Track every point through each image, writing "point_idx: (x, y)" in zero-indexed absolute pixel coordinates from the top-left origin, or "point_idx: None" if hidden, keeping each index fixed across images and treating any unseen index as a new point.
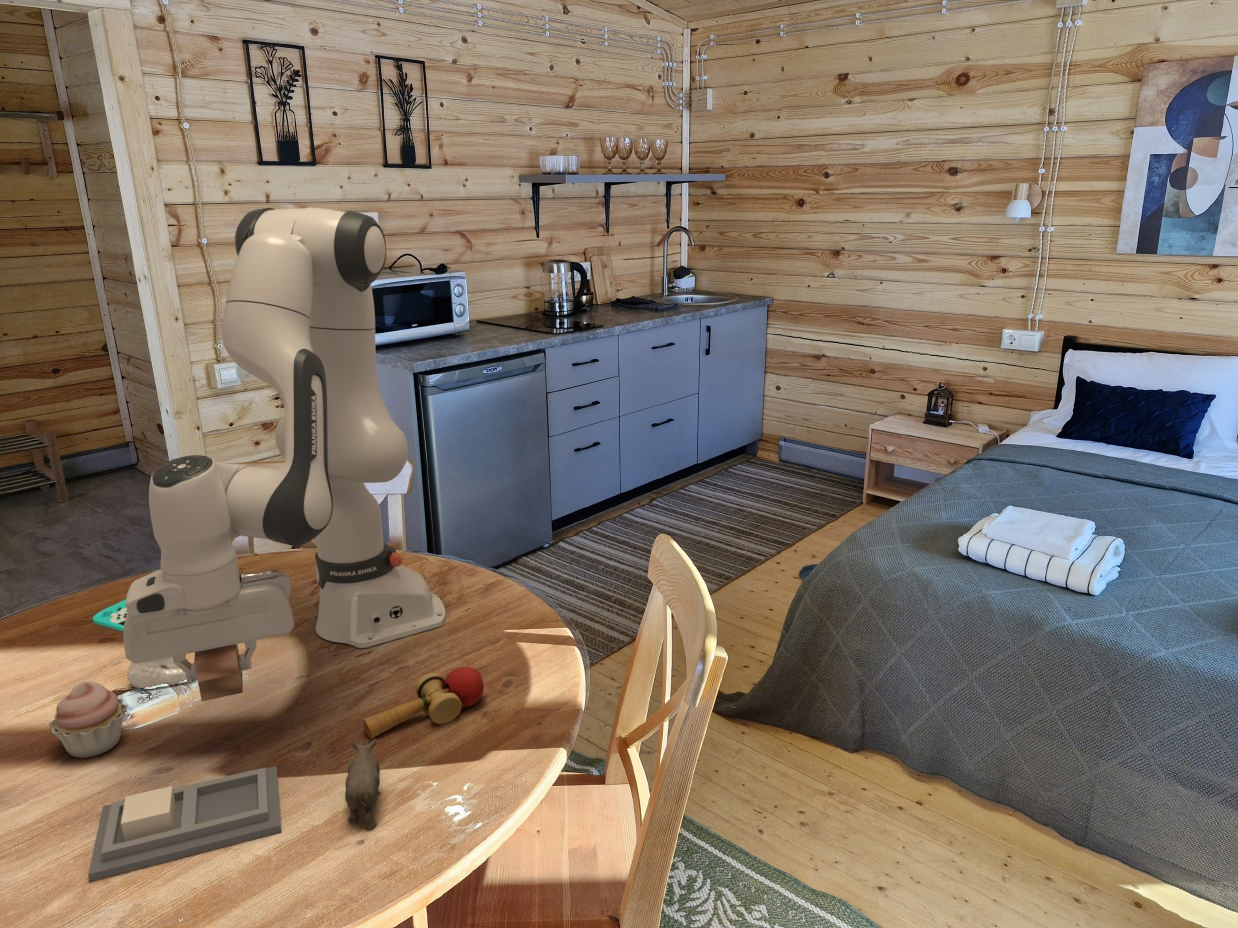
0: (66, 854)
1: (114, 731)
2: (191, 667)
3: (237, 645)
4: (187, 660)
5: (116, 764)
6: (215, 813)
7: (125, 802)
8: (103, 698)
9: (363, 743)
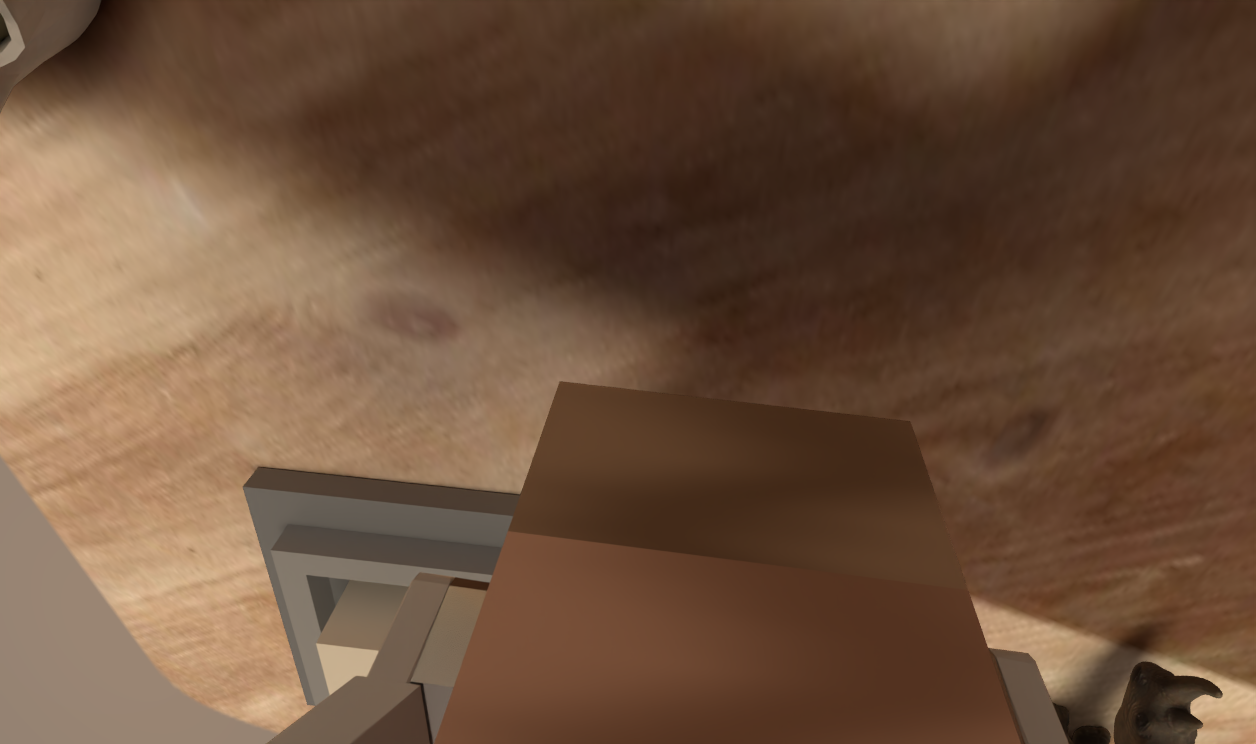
0: (215, 582)
1: (47, 28)
2: (436, 729)
3: (1009, 736)
4: (370, 735)
5: (187, 177)
6: None
7: (324, 664)
8: None
9: (1215, 695)
